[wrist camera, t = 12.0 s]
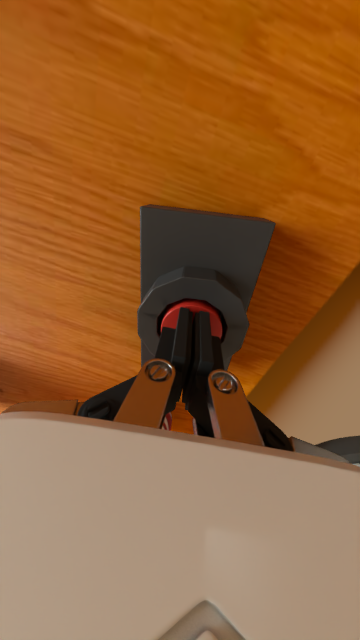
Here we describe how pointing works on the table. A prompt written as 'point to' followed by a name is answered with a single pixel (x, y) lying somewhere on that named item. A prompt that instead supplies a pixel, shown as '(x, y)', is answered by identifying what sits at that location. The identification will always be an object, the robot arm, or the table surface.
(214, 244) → the button housing
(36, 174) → the table surface
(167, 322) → the button
